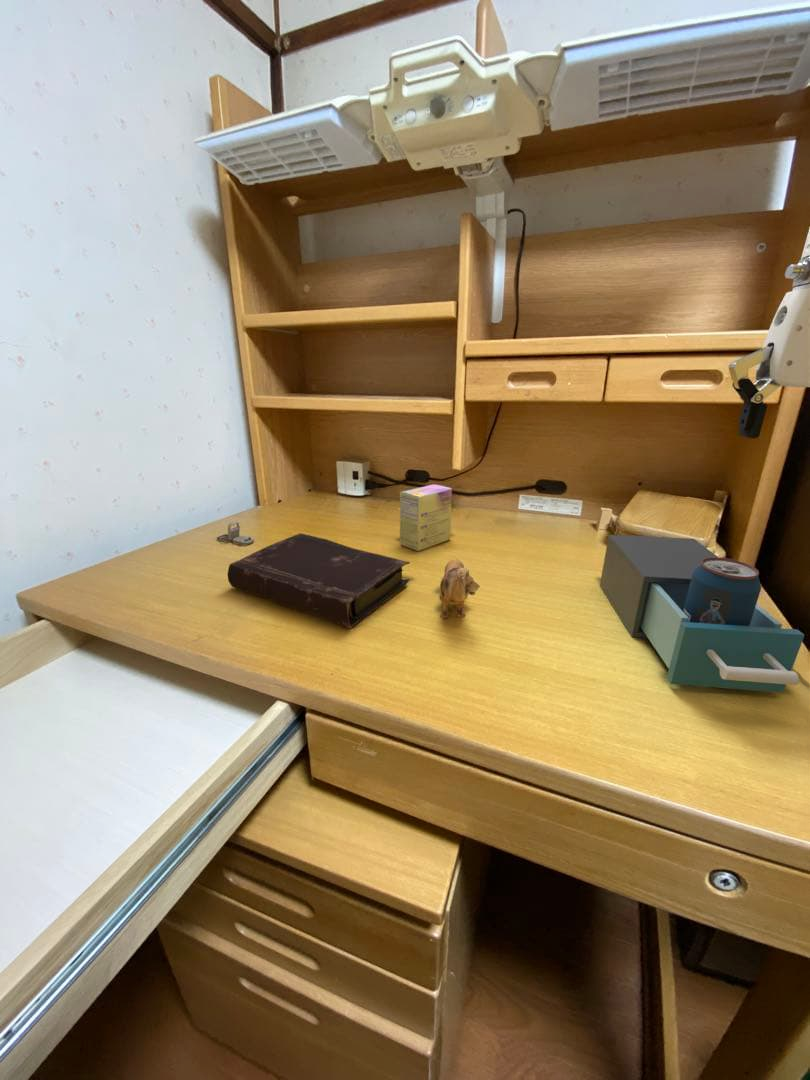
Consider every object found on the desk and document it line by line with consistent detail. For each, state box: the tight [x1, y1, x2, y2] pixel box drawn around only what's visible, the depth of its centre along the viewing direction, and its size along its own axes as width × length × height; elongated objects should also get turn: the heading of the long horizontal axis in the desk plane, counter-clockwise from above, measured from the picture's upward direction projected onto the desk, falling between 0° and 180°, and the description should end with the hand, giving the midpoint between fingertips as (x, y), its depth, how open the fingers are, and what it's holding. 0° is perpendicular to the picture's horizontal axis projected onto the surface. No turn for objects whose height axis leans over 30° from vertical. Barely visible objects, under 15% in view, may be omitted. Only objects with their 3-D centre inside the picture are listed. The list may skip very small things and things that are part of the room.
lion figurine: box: [439, 558, 481, 619], centre depth 72 cm, size 15×5×9 cm, turn 3°
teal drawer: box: [640, 582, 805, 694], centre depth 58 cm, size 20×12×8 cm, turn 173°
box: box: [399, 483, 453, 552], centre depth 98 cm, size 10×6×12 cm, turn 134°
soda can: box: [683, 556, 762, 626], centre depth 57 cm, size 7×7×12 cm
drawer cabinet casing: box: [599, 534, 720, 639], centre depth 71 cm, size 17×14×10 cm
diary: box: [226, 533, 410, 629], centre depth 79 cm, size 19×25×5 cm
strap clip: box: [216, 521, 255, 546], centre depth 99 cm, size 8×3×4 cm, turn 65°
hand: (790, 437), depth 55 cm, fingers open, 9 cm apart
